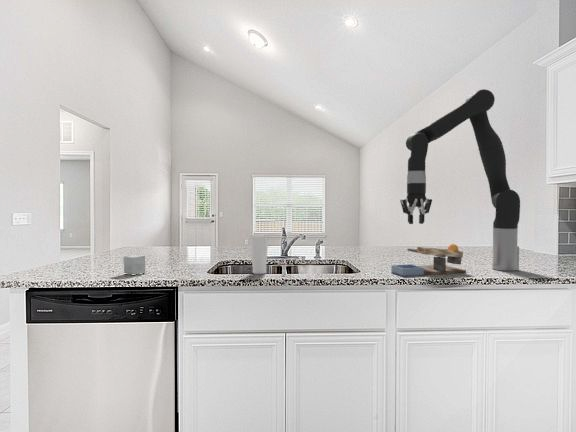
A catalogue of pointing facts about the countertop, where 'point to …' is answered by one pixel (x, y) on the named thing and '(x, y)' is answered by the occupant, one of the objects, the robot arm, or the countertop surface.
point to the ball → (453, 247)
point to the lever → (441, 254)
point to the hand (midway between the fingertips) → (416, 223)
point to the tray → (407, 270)
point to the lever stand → (440, 267)
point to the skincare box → (134, 264)
